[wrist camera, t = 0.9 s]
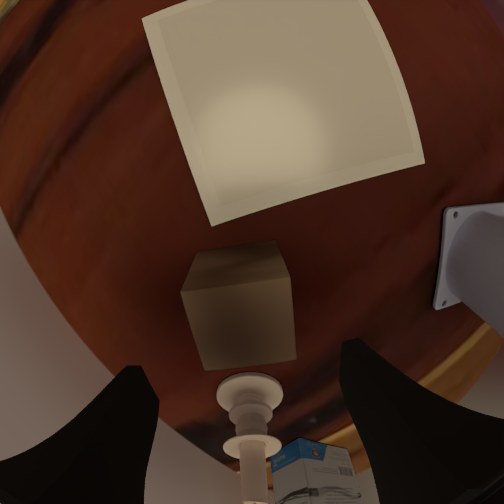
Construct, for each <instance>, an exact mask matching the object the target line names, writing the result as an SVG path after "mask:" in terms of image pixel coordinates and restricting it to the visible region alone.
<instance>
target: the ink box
mask: <svg viewBox="0 0 504 504" xmlns="http://www.w3.org/2000/svg"><path fill="white" fill-rule="evenodd" d="M270 459H271V468H272V478H273V487H274V496H275V504H363V501H362V497H361V494H360V491H359V487H358V484H357V480H356V477H355V473H354V470H353V467H352V463H351V460H350V457H349V453H348V450H347V449H345V448H340V447H335V446H331V445H326V444H322V443H318V442H314V441H310V440H307V439H303V438H298V439H296V440H294V441H293V442H291V443H289V444H288V445H286V446H284V447H283V448H281V449H280V450H279V451H278V452H277V453H276V454H274V455H272V456H270Z"/></svg>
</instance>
